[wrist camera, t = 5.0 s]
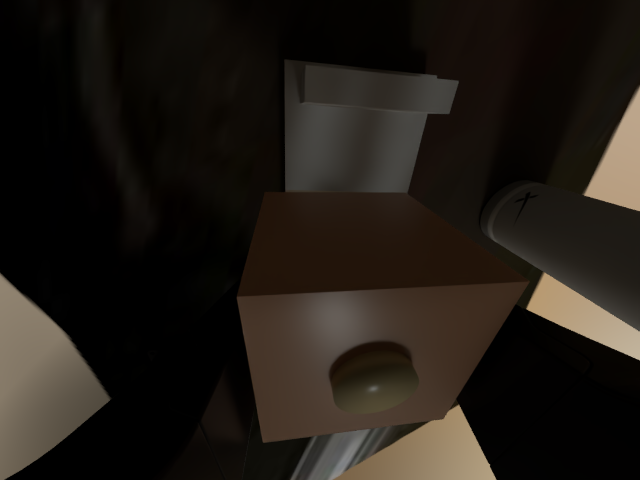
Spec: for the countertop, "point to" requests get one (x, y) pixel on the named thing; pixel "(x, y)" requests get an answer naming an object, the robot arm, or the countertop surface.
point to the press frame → (356, 126)
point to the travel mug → (572, 242)
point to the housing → (364, 311)
